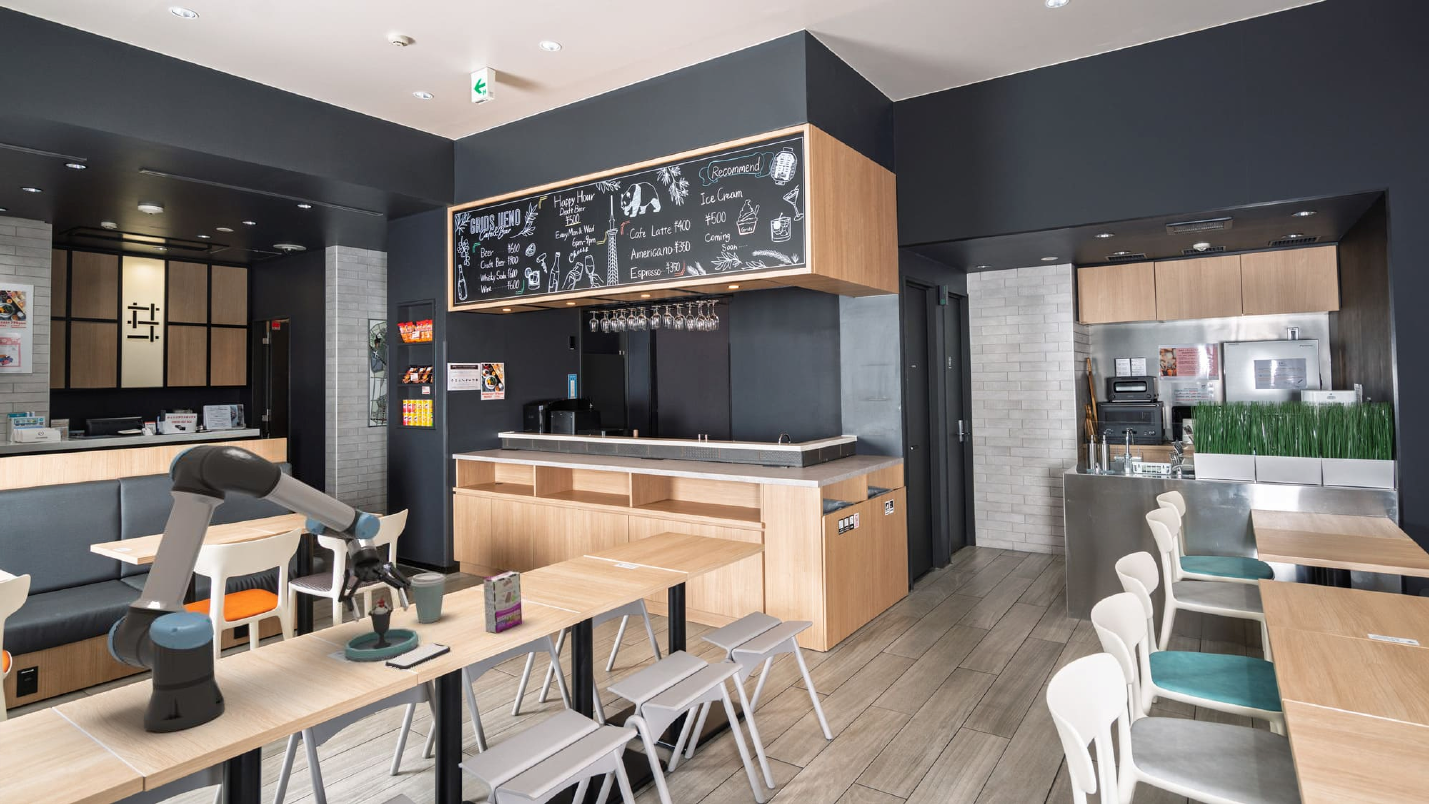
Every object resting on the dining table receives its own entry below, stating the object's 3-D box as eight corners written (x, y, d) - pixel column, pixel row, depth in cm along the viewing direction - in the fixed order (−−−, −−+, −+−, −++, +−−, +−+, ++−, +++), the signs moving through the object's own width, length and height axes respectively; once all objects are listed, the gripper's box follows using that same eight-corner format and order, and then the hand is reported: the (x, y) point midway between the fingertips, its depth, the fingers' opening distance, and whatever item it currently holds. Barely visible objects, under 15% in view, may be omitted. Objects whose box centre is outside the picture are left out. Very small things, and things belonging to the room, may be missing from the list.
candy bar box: (511, 621, 235) (509, 570, 235) (522, 623, 233) (521, 572, 233) (484, 631, 226) (482, 578, 225) (496, 634, 223) (494, 580, 223)
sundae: (385, 650, 208) (383, 597, 208) (364, 649, 209) (362, 597, 209) (399, 642, 214) (397, 591, 214) (379, 641, 216) (377, 591, 216)
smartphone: (405, 673, 195) (452, 652, 209) (405, 667, 195) (452, 646, 209) (383, 667, 199) (431, 647, 214) (383, 662, 199) (430, 642, 213)
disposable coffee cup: (438, 613, 246) (437, 569, 246) (452, 620, 238) (451, 574, 238) (406, 621, 239) (405, 575, 238) (420, 628, 231) (419, 580, 231)
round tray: (373, 666, 199) (373, 655, 199) (330, 655, 208) (330, 645, 208) (431, 644, 215) (431, 634, 215) (389, 635, 225) (389, 625, 225)
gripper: (402, 555, 233) (422, 611, 222) (316, 569, 216) (333, 631, 205) (408, 540, 229) (429, 597, 218) (321, 554, 212) (339, 616, 201)
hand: (382, 614), depth 211 cm, fingers open, 13 cm apart
